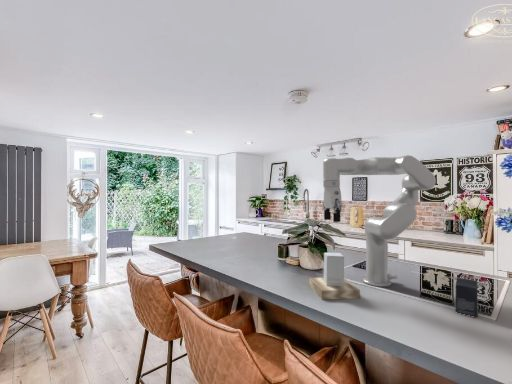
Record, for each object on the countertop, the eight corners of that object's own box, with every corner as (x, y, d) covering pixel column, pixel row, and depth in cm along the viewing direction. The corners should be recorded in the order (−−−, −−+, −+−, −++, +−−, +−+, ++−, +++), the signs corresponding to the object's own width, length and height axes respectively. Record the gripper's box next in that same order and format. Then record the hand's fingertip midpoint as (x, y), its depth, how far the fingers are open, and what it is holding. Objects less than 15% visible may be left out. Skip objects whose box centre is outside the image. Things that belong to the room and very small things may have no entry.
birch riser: (342, 284, 123) (342, 277, 123) (359, 298, 108) (359, 289, 108) (309, 285, 122) (309, 277, 122) (321, 299, 106) (321, 290, 106)
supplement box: (344, 286, 111) (344, 256, 111) (326, 285, 112) (326, 255, 112) (340, 280, 118) (340, 252, 118) (323, 280, 119) (323, 252, 119)
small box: (455, 303, 104) (456, 276, 104) (477, 308, 99) (477, 280, 99) (454, 312, 95) (454, 283, 95) (478, 318, 91) (478, 287, 91)
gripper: (348, 184, 118) (348, 222, 118) (330, 185, 135) (331, 218, 135) (332, 184, 116) (333, 222, 116) (316, 185, 133) (317, 219, 133)
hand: (332, 220), depth 125 cm, fingers open, 9 cm apart
